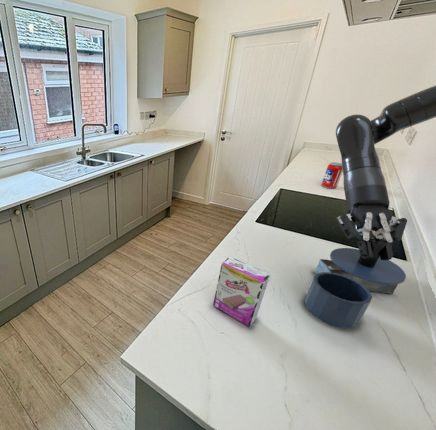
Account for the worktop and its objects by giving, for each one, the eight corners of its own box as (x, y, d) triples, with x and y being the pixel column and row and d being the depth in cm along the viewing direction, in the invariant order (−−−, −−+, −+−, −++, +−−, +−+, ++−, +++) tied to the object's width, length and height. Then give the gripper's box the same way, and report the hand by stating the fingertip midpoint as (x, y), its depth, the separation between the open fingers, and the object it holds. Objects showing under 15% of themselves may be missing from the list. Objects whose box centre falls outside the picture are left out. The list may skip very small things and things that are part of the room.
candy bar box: (211, 306, 79) (220, 262, 71) (219, 298, 82) (228, 255, 75) (249, 329, 71) (263, 282, 64) (257, 318, 74) (271, 273, 67)
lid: (407, 269, 62) (423, 242, 59) (398, 296, 55) (416, 267, 51) (337, 245, 72) (348, 221, 68) (321, 265, 64) (332, 239, 61)
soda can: (338, 189, 160) (347, 165, 153) (323, 188, 162) (331, 165, 155) (333, 185, 166) (342, 162, 160) (318, 184, 169) (326, 161, 162)
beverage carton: (313, 271, 92) (319, 256, 89) (377, 278, 88) (386, 263, 85) (324, 286, 85) (331, 270, 82) (394, 295, 81) (404, 279, 78)
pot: (363, 311, 76) (376, 288, 72) (352, 336, 69) (366, 311, 65) (312, 289, 85) (321, 266, 81) (298, 308, 77) (307, 285, 73)
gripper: (342, 182, 63) (353, 253, 57) (412, 184, 60) (430, 259, 55) (323, 194, 70) (331, 258, 64) (385, 197, 67) (399, 264, 62)
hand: (377, 258), depth 60 cm, fingers closed on lid, 3 cm apart
